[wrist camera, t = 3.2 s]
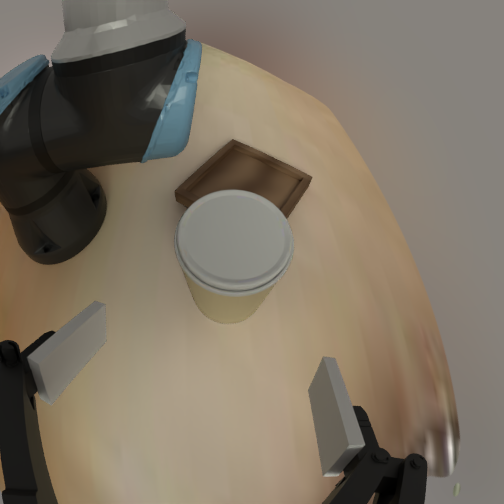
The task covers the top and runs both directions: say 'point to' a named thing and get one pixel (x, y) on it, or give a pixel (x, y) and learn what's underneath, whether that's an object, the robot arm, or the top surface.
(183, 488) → the top surface
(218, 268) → the coffee cup
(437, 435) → the top surface
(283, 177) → the coaster tray
